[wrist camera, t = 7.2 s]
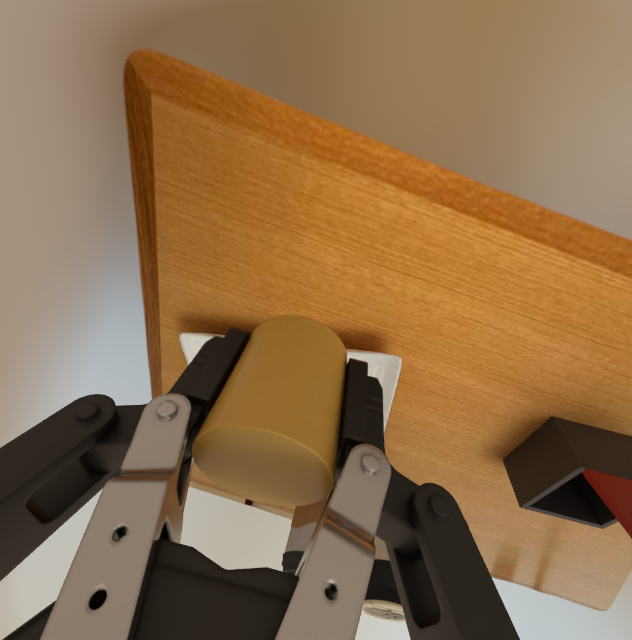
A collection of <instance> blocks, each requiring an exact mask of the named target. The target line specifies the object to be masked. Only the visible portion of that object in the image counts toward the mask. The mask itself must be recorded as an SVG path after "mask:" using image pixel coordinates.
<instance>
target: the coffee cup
mask: <svg viewBox="0 0 632 640" xmlns="http://www.w3.org/2000/svg"><path fill="white" fill-rule="evenodd" d="M328 496H329V494H328V495H327V496H326V497H325V498H324V499H322V500H320V501H318V502H315V503H312V504H308V505H302V506H296V509H295V513H294V516H293V520H292V524H291V530H290V534H289V538H288V542H287V545H286V550H285V553H284V554H283V561H282V566H283V572H286V573H289V574H293V575H295V573H296V571H297V568H298V566H299V564H300V561H301V559H302V557H303V555H304V553H305V550H306V548H307V546H308V544H309V541H310V539H311V536H312V534H313V532H314V529H315V527H316V524H317V522H318V520H319V517H320V515H321V513H322V510H323V508H324V505H325V503H326V501H327V498H328Z"/></svg>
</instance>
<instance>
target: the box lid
mask: <svg viewBox="0 0 632 640" xmlns="http://www.w3.org/2000/svg"><path fill="white" fill-rule="evenodd" d="M582 474H583V475H584V476H585V478H586V479H587V480H588V482H589V483H590V484H591V486H592V487H593V488H594V490H595V491H596V492H597V493H598V495H599V496H600V497H601V499H602V500H603V501H604V503H605V504H606V505H607V507H608V508H609V509H610V511H611V512H612V513H613V514H614V516H615V517H616V518H617V520H618V521H619V522H620V524H621V525H622V526H623V528H624V529H625V530H626V532H627V533H628V534H629V535H630V537H631V538H632V480H629V479H625V478H621V477H617V476H614V475H610V474H606V473H602V472H598V471H594V470H590V469H585V470H584V471H583V472H582Z"/></svg>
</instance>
